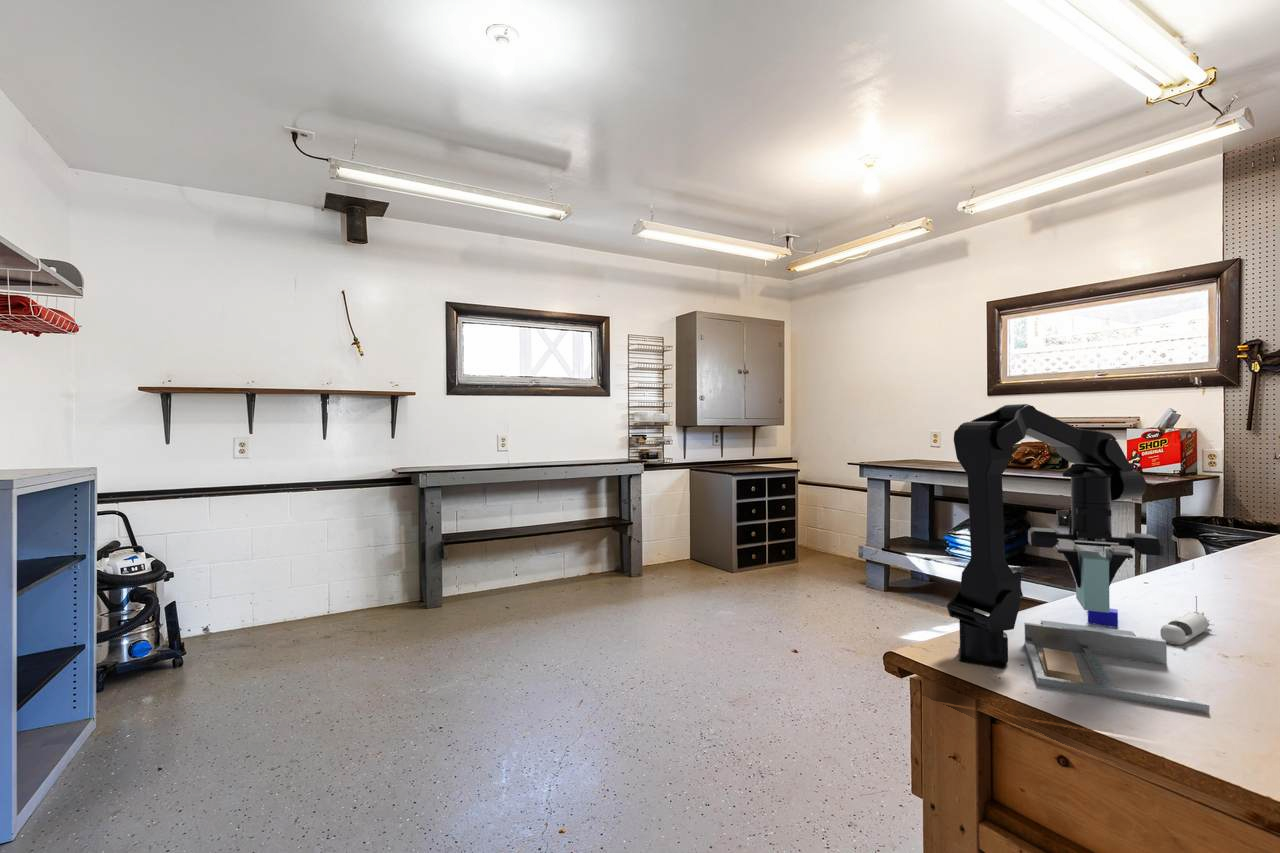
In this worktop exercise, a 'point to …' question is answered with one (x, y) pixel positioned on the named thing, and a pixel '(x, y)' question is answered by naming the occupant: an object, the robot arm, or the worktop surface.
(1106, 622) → the blue piece
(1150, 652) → the rack
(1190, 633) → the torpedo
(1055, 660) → the upper offcut
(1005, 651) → the robot arm
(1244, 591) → the worktop surface
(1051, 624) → the rubber mat
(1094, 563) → the pale teal block
